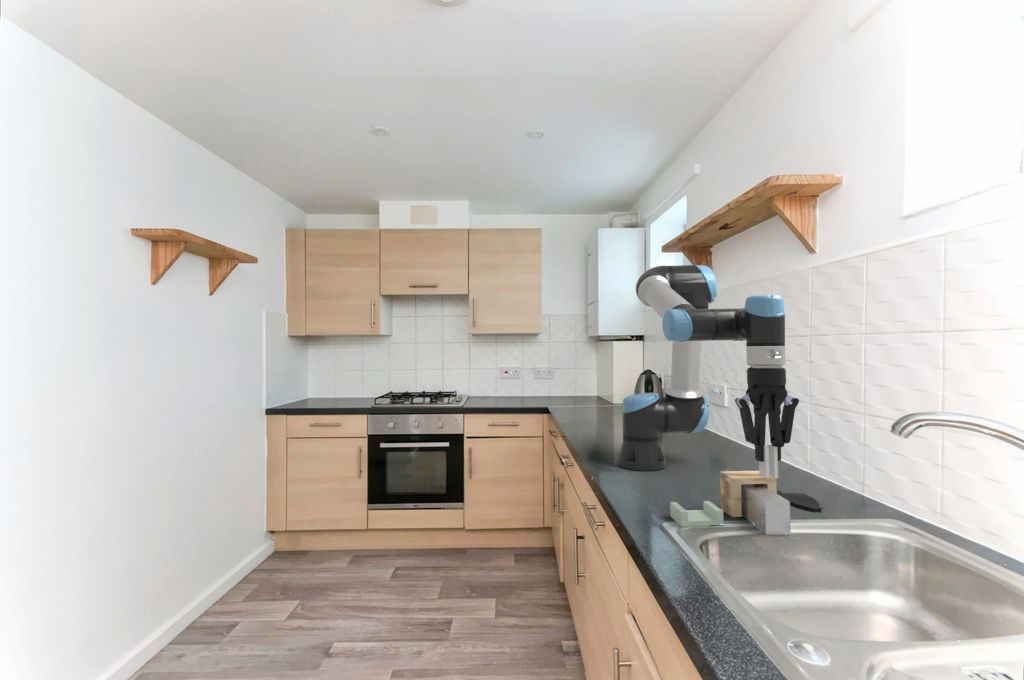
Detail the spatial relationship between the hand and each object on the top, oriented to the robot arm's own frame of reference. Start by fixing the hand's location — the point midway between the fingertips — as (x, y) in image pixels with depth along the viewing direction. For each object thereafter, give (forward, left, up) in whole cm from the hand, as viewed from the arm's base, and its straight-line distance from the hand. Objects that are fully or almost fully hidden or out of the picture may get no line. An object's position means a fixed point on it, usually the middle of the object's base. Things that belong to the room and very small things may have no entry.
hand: (768, 476), depth 107 cm
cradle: (-5, -14, -11) cm, 18 cm away
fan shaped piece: (-16, +16, -12) cm, 25 cm away
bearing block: (-9, 0, -11) cm, 14 cm away
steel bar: (-4, 0, -11) cm, 12 cm away
